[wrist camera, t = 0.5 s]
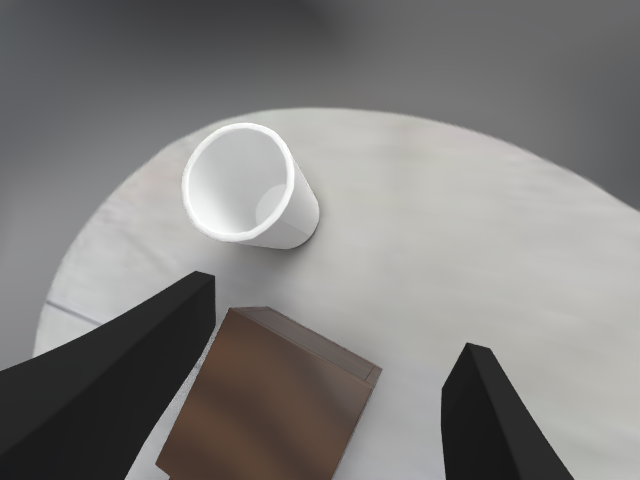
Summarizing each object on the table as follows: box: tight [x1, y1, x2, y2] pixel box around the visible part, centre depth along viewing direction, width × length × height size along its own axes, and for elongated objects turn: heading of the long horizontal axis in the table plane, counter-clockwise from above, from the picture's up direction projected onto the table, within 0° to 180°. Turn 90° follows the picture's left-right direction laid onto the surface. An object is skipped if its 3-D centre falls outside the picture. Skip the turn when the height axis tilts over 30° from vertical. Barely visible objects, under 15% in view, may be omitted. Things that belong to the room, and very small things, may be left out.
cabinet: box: [155, 307, 382, 480], centre depth 33 cm, size 15×14×9 cm
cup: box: [181, 123, 319, 249], centre depth 35 cm, size 10×10×13 cm
